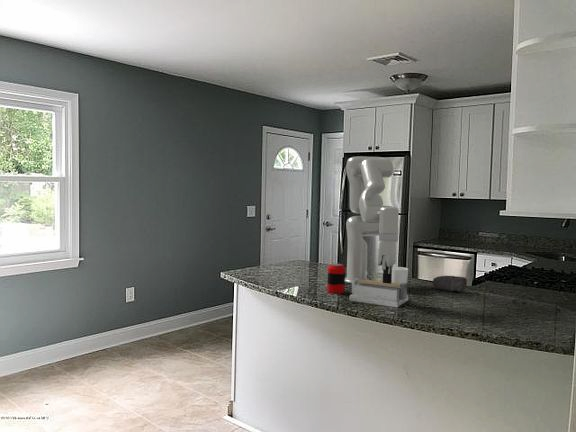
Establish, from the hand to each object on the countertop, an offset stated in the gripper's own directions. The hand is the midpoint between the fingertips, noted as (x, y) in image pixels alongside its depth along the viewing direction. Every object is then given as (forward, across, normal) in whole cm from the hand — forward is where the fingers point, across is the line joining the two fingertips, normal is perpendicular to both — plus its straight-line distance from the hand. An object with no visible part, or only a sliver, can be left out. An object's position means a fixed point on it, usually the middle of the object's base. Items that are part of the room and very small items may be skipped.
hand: (387, 282), depth 199 cm
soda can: (+8, -5, -25) cm, 26 cm away
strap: (+1, -1, -4) cm, 4 cm away
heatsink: (+8, -1, -4) cm, 9 cm away
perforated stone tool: (+8, -37, +16) cm, 41 cm away
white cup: (+8, -24, -3) cm, 25 cm away
